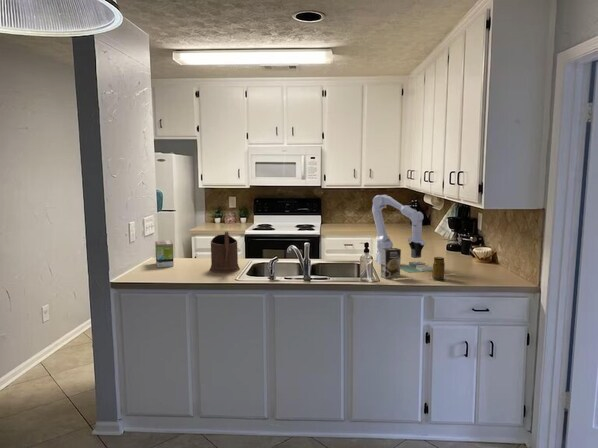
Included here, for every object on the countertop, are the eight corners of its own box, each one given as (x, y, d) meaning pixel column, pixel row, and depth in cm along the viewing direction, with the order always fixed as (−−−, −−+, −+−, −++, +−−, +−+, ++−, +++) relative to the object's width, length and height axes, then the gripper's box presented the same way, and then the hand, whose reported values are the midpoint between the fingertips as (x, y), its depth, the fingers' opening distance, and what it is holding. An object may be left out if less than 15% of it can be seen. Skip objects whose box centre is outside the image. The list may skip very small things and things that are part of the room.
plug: (411, 257, 260) (411, 247, 259) (417, 256, 261) (417, 247, 261) (414, 258, 257) (414, 248, 256) (421, 257, 258) (421, 248, 257)
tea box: (174, 266, 272) (173, 243, 271) (157, 268, 269) (156, 244, 267) (171, 262, 286) (170, 239, 284) (155, 263, 283) (154, 240, 281)
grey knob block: (409, 265, 269) (409, 261, 269) (418, 264, 271) (419, 260, 271) (415, 267, 262) (415, 263, 262) (425, 266, 264) (425, 262, 264)
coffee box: (385, 279, 240) (386, 250, 238) (380, 276, 246) (380, 248, 244) (400, 277, 242) (401, 249, 240) (394, 275, 248) (395, 247, 246)
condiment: (435, 276, 244) (436, 255, 243) (450, 279, 239) (450, 258, 237) (429, 279, 239) (430, 257, 237) (444, 282, 233) (445, 260, 232)
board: (394, 268, 266) (394, 263, 265) (420, 266, 271) (420, 261, 271) (409, 274, 249) (409, 269, 249) (436, 272, 255) (436, 267, 254)
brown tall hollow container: (237, 265, 276) (236, 226, 273) (244, 273, 253) (243, 231, 250) (207, 267, 270) (206, 227, 267) (212, 276, 248) (210, 232, 244)
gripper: (403, 231, 262) (403, 253, 264) (418, 234, 249) (417, 258, 251) (413, 230, 265) (413, 252, 267) (428, 233, 251) (428, 257, 253)
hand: (416, 255), depth 259 cm, fingers closed on plug, 3 cm apart
